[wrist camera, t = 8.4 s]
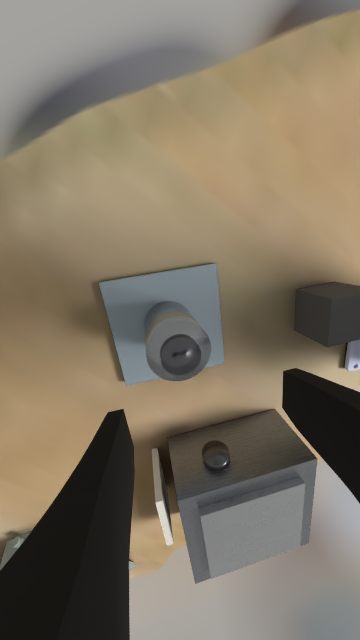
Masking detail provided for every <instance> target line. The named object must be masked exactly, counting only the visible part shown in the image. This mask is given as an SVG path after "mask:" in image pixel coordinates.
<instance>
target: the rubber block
mask: <svg viewBox="0 0 360 640" xmlns="http://www.w3.org/2000/svg"><path fill="white" fill-rule="evenodd" d="M294 330H296V331H297V332H299V333H301V334H303V335H305V336H307V337H309V338H311V339H313V340H315V341H317V342H319V343H321V344H322V345H324V346H326V347H330V346H334V345H338V344H343V343H347V342H351V341H355V340H360V286H356V285H350V284H344V283H338V282H332V283H327V284H322V285H316V286H311V287H306V288H301V289H296V301H295V326H294Z"/></svg>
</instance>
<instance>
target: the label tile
mask: <svg viewBox="0 0 360 640" xmlns="http://www.w3.org/2000/svg"><path fill="white" fill-rule="evenodd" d="M152 462H153V476H154V490H155V503H156V507H157V510H158V514H159V518H160V521H161V525H162V529H163V532H164V536H165V540H166V544H167V546H168V545H171V544H174V543H173V535H172V527H171V519H170V510H169V502H168V494H167V487H166V482H165V478H164V474H163V470H162V465H161V461H160V457H159V453H158V448H155V449H152Z"/></svg>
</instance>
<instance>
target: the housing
mask: <svg viewBox="0 0 360 640" xmlns="http://www.w3.org/2000/svg"><path fill="white" fill-rule="evenodd" d="M167 439H168V445H169V452H170V458H171V464H172V471H173V477H174V483H175V490H176V496H177V502H178V507H179V511H180V516H181V520H182V525H183V529H184V534H185V539H186V543H187V547H188V552H189V557H190V561H191V566H192V570H193V575H194V580H195V583H199V582H201V581H204V580H207V579H209V578H215V577H218V576H220V575H223V574H226V573H228V572H231V571H234V570H237V569H240V568H243V567H245V566H248V565H251V564H254V563H256V562H259V561H262V560H265V559H268V558H270V557H273V556H276V555H279V554H281V553H284V552H287V551H290V550H293V549H295V548H298V547H300V546H302V545H305V544H307V543H309V535H310V525H311V515H312V506H313V495H314V486H315V476H316V467H317V458H316V457H315V455H314V454H313V453H312V452H311V451H310V450H309V448H308V447H307V446H306V445H305V444H304V442H303V441H302V440H301V439H300V438H299V437H298V435H297V434H296V433H295V432H294V431H293V430H292V428H291V427H290V426H289V425H288V424H287V423H286V421H285V420H284V419H283V418H282V417H281V416H280V414H279V413H278V412H277V411H276V410H275V409H273V410H269V411H266V412H262V413H258V414H254V415H251V416H247V417H243V418H239V419H235V420H232V421H228V422H224V423H220V424H217V425H213V426H209V427H205V428H202V429H198V430H194V431H190V432H186V433H183V434H179V435H175V436H171V437H168V438H167Z"/></svg>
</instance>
